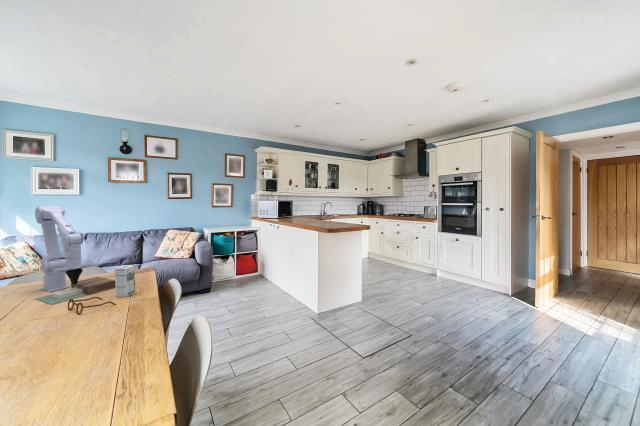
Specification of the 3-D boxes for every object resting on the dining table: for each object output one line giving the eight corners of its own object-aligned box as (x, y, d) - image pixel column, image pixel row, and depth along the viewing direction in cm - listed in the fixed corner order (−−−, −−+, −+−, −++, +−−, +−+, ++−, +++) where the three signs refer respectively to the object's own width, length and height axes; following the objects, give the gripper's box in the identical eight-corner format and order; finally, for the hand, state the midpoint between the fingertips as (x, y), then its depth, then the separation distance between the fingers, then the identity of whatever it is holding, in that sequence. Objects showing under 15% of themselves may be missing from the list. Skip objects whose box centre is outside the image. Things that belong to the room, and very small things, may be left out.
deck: (71, 290, 135) (71, 282, 135) (98, 283, 146) (98, 276, 146) (88, 295, 129) (88, 287, 128) (115, 287, 140) (115, 280, 139)
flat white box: (52, 297, 125) (52, 292, 125) (76, 291, 133) (76, 287, 133) (58, 299, 122) (58, 294, 122) (82, 292, 131) (82, 289, 130)
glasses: (66, 309, 112) (66, 298, 112) (102, 299, 124) (102, 289, 124) (80, 316, 106) (80, 304, 106) (117, 305, 118) (116, 294, 118)
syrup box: (126, 297, 127) (126, 268, 126) (115, 296, 127) (114, 267, 126) (135, 292, 132) (134, 265, 132) (124, 292, 132) (123, 264, 132)
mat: (34, 299, 123) (34, 298, 123) (70, 290, 134) (70, 289, 134) (51, 304, 116) (51, 304, 116) (87, 295, 128) (87, 294, 128)
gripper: (58, 261, 121) (59, 289, 121) (95, 255, 134) (96, 281, 135) (50, 259, 124) (51, 287, 124) (87, 254, 137) (88, 279, 138)
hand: (74, 284), depth 130 cm, fingers closed
